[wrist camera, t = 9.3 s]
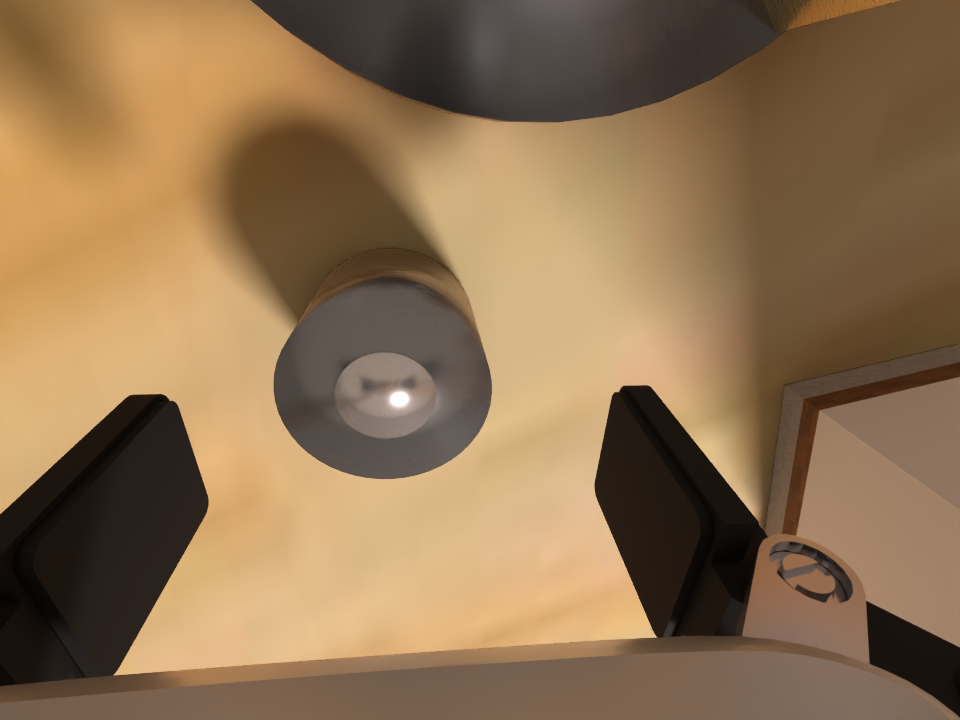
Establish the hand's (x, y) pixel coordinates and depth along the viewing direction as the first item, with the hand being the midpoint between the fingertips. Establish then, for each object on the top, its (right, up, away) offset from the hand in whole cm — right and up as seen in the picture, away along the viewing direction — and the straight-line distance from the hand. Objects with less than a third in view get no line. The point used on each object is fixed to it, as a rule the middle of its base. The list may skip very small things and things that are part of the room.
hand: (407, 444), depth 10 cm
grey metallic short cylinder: (-2, +3, +7) cm, 8 cm away
